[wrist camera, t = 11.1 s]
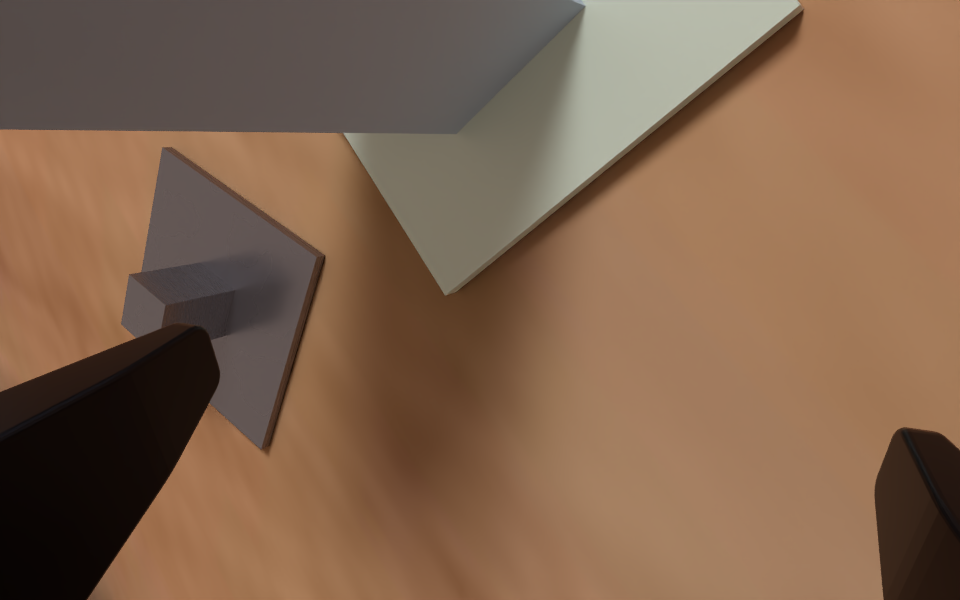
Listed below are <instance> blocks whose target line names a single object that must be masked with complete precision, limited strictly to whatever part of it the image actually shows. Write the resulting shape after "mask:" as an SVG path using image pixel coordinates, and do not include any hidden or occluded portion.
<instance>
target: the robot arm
mask: <svg viewBox="0 0 960 600" xmlns="http://www.w3.org/2000/svg"><path fill="white" fill-rule="evenodd" d="M219 381H220V369H219V365H218V362H217V359H216V355H215V352H214V349H213V346H212V342H211V339H210V336H209V333H208V332H207V330H206V329H205V328H204V327H202V326H200V325H194V324H187V323H174V324H171V325H168V326H166V327H163V328H161V329H158V330H156V331H153V332H151V333H148V334H146V335H143V336H140V337H138V338H135V339H133V340H130V341H128V342H125V343H123V344H120V345H118V346H115V347H113V348H110V349H108V350H105V351H103V352H100V353H98V354H95V355H92V356H90V357H87V358H85V359H82V360H80V361H77V362H75V363H72V364H70V365H67V366H65V367H62V368H60V369H57V370H55V371H52V372H50V373H47V374H44V375H42V376H39V377H37V378H34V379H32V380H29V381H27V382H24V383H22V384H19V385H17V386H14V387H12V388H9V389H7V390H4V391H2V392H0V600H87V599H88V598H89V596H90V595H91V593H92V592H93V590H94V589H95V587H96V586H97V584H98V583H99V581H100V580H101V578H102V577H103V575H104V574H105V572H106V571H107V569H108V568H109V566H110V565H111V563H112V562H113V560H114V559H115V557H116V556H117V554H118V553H119V551H120V550H121V548H122V547H123V545H124V544H125V542H126V541H127V539H128V538H129V536H130V535H131V533H132V532H133V530H134V529H135V527H136V526H137V524H138V523H139V521H140V520H141V518H142V517H143V515H144V514H145V512H146V511H147V509H148V508H149V506H150V505H151V503H152V502H153V500H154V499H155V497H156V496H157V494H158V493H159V491H160V490H161V488H162V487H163V485H164V484H165V482H166V481H167V479H168V477H169V476H170V474H171V473H172V471H173V469H174V467H175V466H176V464H177V462H178V460H179V458H180V457H181V455H182V453H183V451H184V449H185V447H186V445H187V444H188V442H189V440H190V438H191V436H192V434H193V432H194V430H195V429H196V427H197V425H198V423H199V421H200V419H201V417H202V415H203V414H204V412H205V410H206V408H207V406H208V404H209V402H210V400H211V399H212V397H213V395H214V393H215V391H216V389H217V387H218V384H219ZM875 508H876V519H877V531H878V542H879V553H880V564H881V576H882V587H883V598H884V600H960V450H959V449H958V448H957V447H956V446H955V445H954V444H953V443H952V442H951V441H949V440H948V439H947V438H946V437H945V436H943V435H942V434H940V433H938V432H934V431H927V430H921V429H914V428H907V427H903V428H900V429H898V430H897V431H896V432H895V433H894V435H893V437H892V439H891V442H890V444H889V447H888V450H887V452H886V455H885V457H884V460H883V463H882V465H881V468H880V470H879V473H878V476H877V479H876V484H875Z"/></svg>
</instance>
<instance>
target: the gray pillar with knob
mask: <svg viewBox="0 0 960 600" xmlns="http://www.w3.org/2000/svg"><path fill="white" fill-rule="evenodd" d="M584 7H585V4H584V3H583V2H582V0H0V129H19V130H115V131H211V132H307V133H402V134H457V133H458V132H459V131H460V130H461V129H462V128H463V127H464V126H465V125H466V124H467V123H468V122H469V121H470V120H471V119H472V118H473V117H474V116H475V115H476V114H477V113H478V112H479V111H480V110H481V109H482V108H483V107H484V106H485V105H486V104H487V103H488V102H489V101H490V100H491V99H492V98H493V97H494V96H495V95H496V94H497V93H498V92H499V91H500V90H501V89H502V88H503V87H504V86H505V85H506V84H507V83H508V82H509V81H510V80H511V79H512V78H513V77H514V76H515V75H516V74H517V73H518V72H519V71H520V70H521V69H523V68H524V67H525V66H526V65H527V64H528V63H529V62H530V61H531V60H532V59H533V58H534V57H535V56H536V55H537V54H538V53H539V52H540V51H541V50H542V49H543V48H544V47H545V46H546V45H547V44H548V43H549V42H550V41H551V40H552V39H553V38H554V37H555V36H556V35H557V34H558V33H559V32H560V31H561V30H562V29H563V28H564V27H565V26H566V25H567V24H568V23H569V22H570V21H571V20H572V19H573V18H574V17H575V16H576V15H577V14H578V13H579V12H580V11H581V10H582V9H583V8H584Z"/></svg>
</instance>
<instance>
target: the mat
mask: <svg viewBox="0 0 960 600" xmlns="http://www.w3.org/2000/svg"><path fill="white" fill-rule="evenodd" d="M582 2H583V3H584V4H585V7H584V8H583V9H582V10H581V11H580V12H579V13H578V14H577V15H576V16H575V17H574V18H573V19H572V20H571V21H570V22H569V23H568V24H567V25H566V26H565V27H564V28H563V29H562V30H561V31H560V32H559V33H558V34H557V35H556V36H555V37H554V38H553V39H552V40H551V41H550V42H549V43H548V44H547V45H546V46H545V47H544V48H543V49H542V50H541V51H540V52H539V53H538V54H537V55H536V56H535V57H534V58H533V59H532V60H531V61H530V62H529V63H528V64H527V65H526V66H525V67H524V68H523V69H521V70H520V71H519V72H518V73H517V74H516V75H515V76H514V77H513V78H512V79H511V80H510V81H509V82H508V83H507V84H506V85H505V86H504V87H503V88H502V89H501V90H500V91H499V92H498V93H497V94H496V95H495V96H494V97H493V98H492V99H491V100H490V101H489V102H488V103H487V104H486V105H485V106H484V107H483V108H482V109H481V110H480V111H479V112H478V113H477V114H476V115H475V116H474V117H473V118H472V119H471V120H470V121H469V122H468V123H467V124H466V125H465V126H464V127H463V128H462V129H461V130H460V131H459V132H458V133H457V134H402V133H343V134H344V135H345V137H346V138H347V140H348V142H349V143H350V145H351V146H352V148H353V149H354V151H355V153H356V154H357V156H358V157H359V159H360V161H361V162H362V164H363V165H364V167H365V169H366V170H367V172H368V173H369V175H370V177H371V178H372V180H373V181H374V183H375V185H376V186H377V188H378V189H379V191H380V193H381V194H382V196H383V197H384V199H385V200H386V202H387V204H388V205H389V207H390V208H391V210H392V212H393V213H394V215H395V216H396V218H397V220H398V221H399V223H400V224H401V226H402V228H403V229H404V231H405V232H406V234H407V236H408V237H409V239H410V240H411V242H412V244H413V245H414V247H415V248H416V250H417V251H418V253H419V255H420V256H421V258H422V259H423V261H424V263H425V264H426V266H427V267H428V269H429V271H430V272H431V274H432V275H433V277H434V279H435V280H436V282H437V283H438V285H439V287H440V288H441V290H442V291H443V293H444V295H445V296H446V295H449V294H452V293H455V292H457V291H458V290H459V289H460V288H462V287H463V286H464V285H465V284H467V283H468V282H469V281H470V280H472V279H473V278H474V277H475V276H476V275H478V274H479V273H480V272H481V271H483V270H484V269H485V268H486V267H488V266H489V265H490V264H491V263H492V262H494V261H495V260H496V259H497V258H499V257H500V256H501V255H502V254H504V253H505V252H506V251H507V250H508V249H510V248H511V247H512V246H513V245H515V244H516V243H517V242H518V241H520V240H521V239H522V238H523V237H524V236H526V235H527V234H528V233H529V232H531V231H532V230H533V229H534V228H535V227H537V226H538V225H539V224H540V223H542V222H543V221H544V220H545V219H547V218H548V217H549V216H550V215H551V214H553V213H554V212H555V211H556V210H558V209H559V208H560V207H561V206H563V205H564V204H565V203H566V202H567V201H569V200H570V199H571V198H572V197H574V196H575V195H576V194H577V193H579V192H580V191H581V190H582V189H583V188H585V187H586V186H587V185H588V184H590V183H591V182H592V181H593V180H595V179H596V178H597V177H598V176H599V175H601V174H602V173H603V172H604V171H606V170H607V169H608V168H609V167H611V166H612V165H613V164H614V163H615V162H617V161H618V160H619V159H620V158H622V157H623V156H624V155H625V154H627V153H628V152H629V151H630V150H631V149H633V148H634V147H635V146H636V145H638V144H639V143H640V142H641V141H643V140H644V139H645V138H646V137H647V136H649V135H650V134H651V133H652V132H654V131H655V130H656V129H657V128H659V127H660V126H661V125H662V124H663V123H665V122H666V121H667V120H668V119H670V118H671V117H672V116H673V115H675V114H676V113H677V112H678V111H679V110H681V109H682V108H683V107H684V106H686V105H687V104H688V103H689V102H691V101H692V100H693V99H694V98H695V97H697V96H698V95H699V94H700V93H702V92H703V91H704V90H705V89H707V88H708V87H709V86H710V85H711V84H713V83H714V82H715V81H716V80H718V79H719V78H720V77H721V76H723V75H724V74H725V73H726V72H727V71H729V70H730V69H731V68H732V67H734V66H735V65H736V64H737V63H739V62H740V61H741V60H742V59H743V58H745V57H746V56H747V55H748V54H750V53H751V52H752V51H753V50H755V49H756V48H757V47H758V46H759V45H761V44H762V43H763V42H764V41H766V40H767V39H768V38H769V37H770V36H772V35H773V34H774V33H775V32H777V31H778V30H779V29H780V28H782V27H783V26H784V25H785V24H786V23H788V22H789V21H790V20H791V19H793V18H794V17H795V16H796V15H798V14H799V13H800V12H801V11H802V10H804V8H803V7H802V5H801V4H800V3H799V1H798V0H582Z"/></svg>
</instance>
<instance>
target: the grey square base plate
mask: <svg viewBox="0 0 960 600" xmlns="http://www.w3.org/2000/svg"><path fill="white" fill-rule="evenodd" d="M324 257H325V255H323V254H322V253H321V252H319V251H318V250H316V249H315V248H314V247H312V246H311V245H309V244H308V243H306V242H305V241H304V240H302V239H301V238H299V237H298V236H297V235H295V234H294V233H292V232H291V231H289V230H288V229H287V228H285V227H284V226H282V225H281V224H279V223H278V222H277V221H275V220H274V219H272V218H271V217H270V216H268V215H267V214H265V213H264V212H262V211H261V210H260V209H258V208H257V207H255V206H254V205H253V204H251V203H250V202H248V201H247V200H245V199H244V198H243V197H241V196H240V195H238V194H237V193H236V192H234V191H233V190H231V189H230V188H228V187H227V186H226V185H224V184H223V183H221V182H220V181H218V180H217V179H216V178H214V177H213V176H211V175H210V174H209V173H207V172H206V171H204V170H203V169H201V168H200V167H199V166H197V165H196V164H194V163H193V162H192V161H190V160H189V159H187V158H186V157H184V156H183V155H182V154H180V153H179V152H177V151H176V150H174V149H173V148H172V147H162V153H161V159H160V165H159V171H158V177H157V183H156V189H155V195H154V201H153V206H152V212H151V218H150V224H149V230H148V236H147V242H146V248H145V254H144V260H143V266H142V272H141V273H135V274H129V279H128V285H127V291H126V297H125V304H124V310H123V316H122V322H121V324H122V325H123V326H124V327H125V328H126V329H127V330H128V331H129V332H130V333H131V334H133V335H134V336H135V337H136V338H138V337H140V336H143V335H146V334H148V333H151V332H153V331H156V330H158V329H161V328H163V327H166V326H168V325H171V324H174V323H187V324H194V325H200V326H202V327H204V328H205V329H206V330H207V332H208V333H209V336H210V339H211V342H212V346H213V349H214V352H215V355H216V359H217V362H218V365H219V369H220V381H219V384H218V387H217V389H216V391H215V393H214V395H213V397H212V399H211V400H210V402H209V403H210V404H211V405H212V406H213V407H215V408H216V409H217V410H218V411H219V412H220V413H221V414H222V415H223V416H225V417H226V418H227V419H228V420H229V421H230V422H231V423H232V424H233V425H234V426H236V427H237V428H238V429H239V430H240V431H241V432H242V433H243V434H244V435H246V436H247V437H248V438H249V439H250V440H251V441H252V442H253V443H254V444H255V445H257V446H258V447H259V448H260V449H263V448H265V447H267V446H269V443H270V440H271V437H272V433H273V430H274V426H275V423H276V420H277V416H278V413H279V409H280V406H281V403H282V399H283V396H284V393H285V389H286V386H287V382H288V379H289V376H290V372H291V369H292V365H293V362H294V359H295V355H296V352H297V348H298V345H299V342H300V338H301V335H302V331H303V328H304V325H305V321H306V318H307V314H308V311H309V308H310V304H311V301H312V297H313V294H314V291H315V287H316V284H317V281H318V277H319V274H320V270H321V267H322V264H323V260H324Z"/></svg>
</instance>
